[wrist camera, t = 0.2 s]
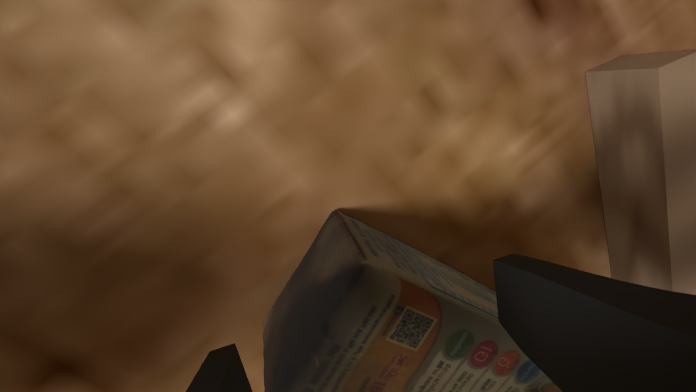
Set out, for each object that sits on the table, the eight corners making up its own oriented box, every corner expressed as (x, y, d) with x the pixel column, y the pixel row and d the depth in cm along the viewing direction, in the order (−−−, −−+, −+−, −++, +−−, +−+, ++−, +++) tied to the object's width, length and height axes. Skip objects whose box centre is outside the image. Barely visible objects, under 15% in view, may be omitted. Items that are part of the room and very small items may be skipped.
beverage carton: (499, 413, 27) (572, 511, 21) (252, 324, 20) (252, 427, 14) (563, 322, 26) (660, 396, 20) (325, 199, 19) (359, 250, 13)
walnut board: (650, 348, 28) (710, 388, 25) (623, 363, 28) (679, 405, 24) (622, 55, 21) (702, 48, 17) (585, 71, 21) (658, 68, 17)
